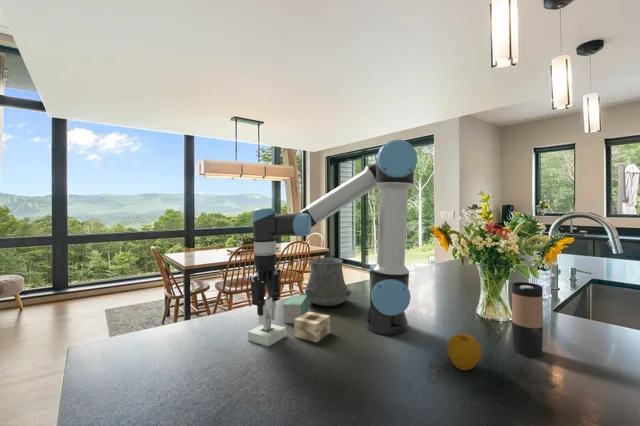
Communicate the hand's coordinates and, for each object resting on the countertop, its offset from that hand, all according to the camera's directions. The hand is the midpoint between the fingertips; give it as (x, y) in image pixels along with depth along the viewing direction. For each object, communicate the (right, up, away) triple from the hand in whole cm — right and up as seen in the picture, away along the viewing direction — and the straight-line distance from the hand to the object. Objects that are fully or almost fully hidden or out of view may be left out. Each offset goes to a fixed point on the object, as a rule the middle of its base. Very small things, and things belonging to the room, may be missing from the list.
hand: (267, 321), depth 105 cm
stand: (0, -6, 0) cm, 6 cm away
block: (+15, -5, +2) cm, 17 cm away
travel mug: (+80, -5, -13) cm, 81 cm away
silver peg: (0, -6, 0) cm, 6 cm away
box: (+9, -5, +20) cm, 22 cm away
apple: (+57, -5, -21) cm, 61 cm away
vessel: (+22, -5, +36) cm, 42 cm away
